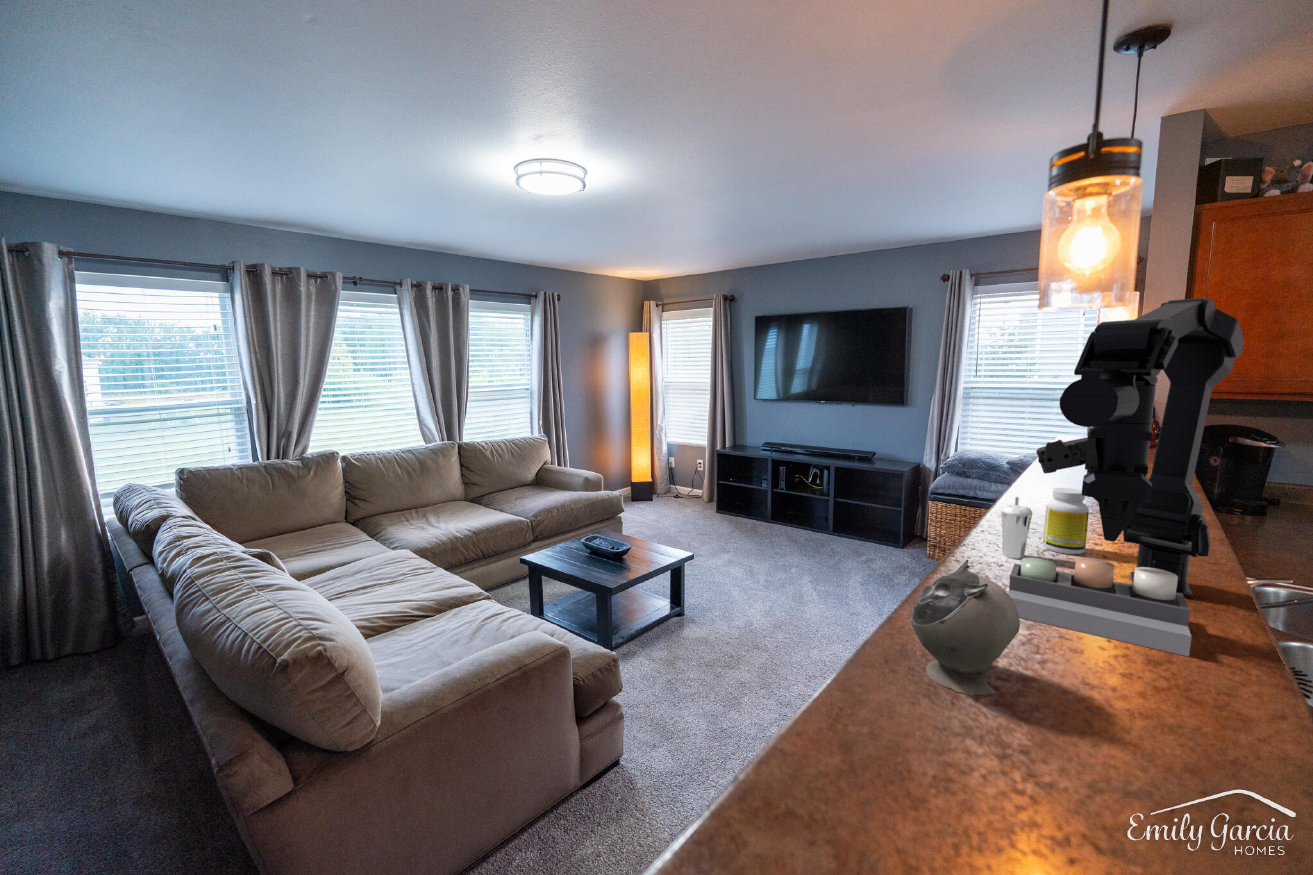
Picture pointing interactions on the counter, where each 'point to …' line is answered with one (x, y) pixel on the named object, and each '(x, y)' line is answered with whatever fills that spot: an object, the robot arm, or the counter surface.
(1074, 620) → the button panel
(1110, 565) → the button terracotta
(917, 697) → the counter surface
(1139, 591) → the button ivory
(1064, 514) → the pill bottle
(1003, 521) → the milkshake
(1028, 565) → the button sage
